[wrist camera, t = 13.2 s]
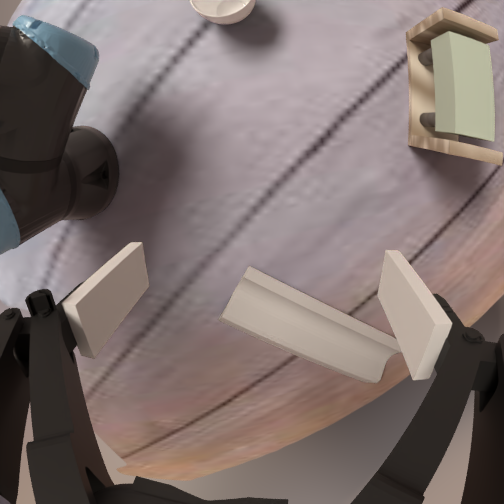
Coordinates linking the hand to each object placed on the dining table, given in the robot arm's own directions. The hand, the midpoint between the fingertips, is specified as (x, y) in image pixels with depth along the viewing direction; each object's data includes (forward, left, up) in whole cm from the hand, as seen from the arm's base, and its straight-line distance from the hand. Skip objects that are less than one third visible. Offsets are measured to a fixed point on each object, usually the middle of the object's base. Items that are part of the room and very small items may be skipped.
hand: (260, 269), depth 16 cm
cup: (-24, +11, -27) cm, 38 cm away
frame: (+3, +27, -27) cm, 38 cm away
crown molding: (+24, -11, -28) cm, 38 cm away
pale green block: (+3, +27, -21) cm, 34 cm away
